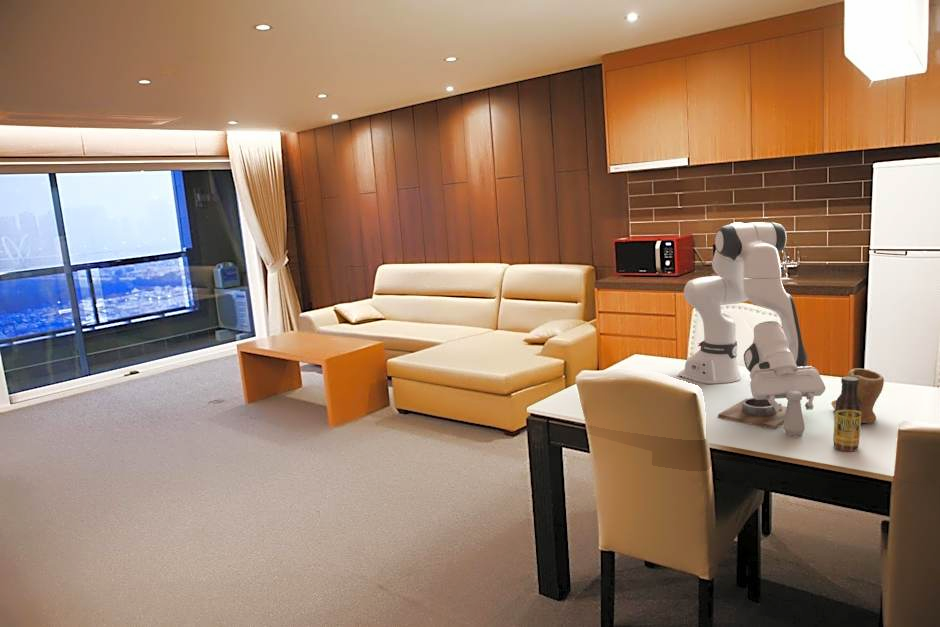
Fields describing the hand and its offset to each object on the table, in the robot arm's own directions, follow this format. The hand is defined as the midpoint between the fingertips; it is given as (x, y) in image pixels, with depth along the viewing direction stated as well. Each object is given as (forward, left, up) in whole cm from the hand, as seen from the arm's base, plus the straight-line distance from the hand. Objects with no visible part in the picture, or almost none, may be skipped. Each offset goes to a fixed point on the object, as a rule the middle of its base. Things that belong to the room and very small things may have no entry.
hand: (794, 409), depth 195 cm
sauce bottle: (+15, -2, -8) cm, 17 cm away
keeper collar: (-15, +10, -8) cm, 20 cm away
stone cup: (+9, +24, -8) cm, 27 cm away
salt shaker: (0, 0, -8) cm, 8 cm away
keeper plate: (-15, +10, -8) cm, 20 cm away
